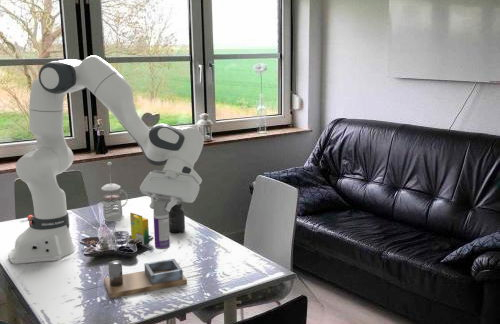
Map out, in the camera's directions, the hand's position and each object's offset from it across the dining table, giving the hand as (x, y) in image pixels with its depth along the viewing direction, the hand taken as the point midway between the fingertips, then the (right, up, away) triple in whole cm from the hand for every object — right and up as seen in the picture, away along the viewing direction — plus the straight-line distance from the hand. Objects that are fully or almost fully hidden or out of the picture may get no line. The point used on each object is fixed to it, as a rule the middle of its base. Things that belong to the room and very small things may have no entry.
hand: (159, 209), depth 167 cm
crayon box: (-14, -16, +38) cm, 44 cm away
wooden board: (-5, -24, +4) cm, 25 cm away
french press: (-31, -10, +67) cm, 74 cm away
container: (+1, -12, +3) cm, 13 cm away
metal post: (-13, -23, 0) cm, 27 cm away
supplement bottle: (-1, -13, +50) cm, 51 cm away
